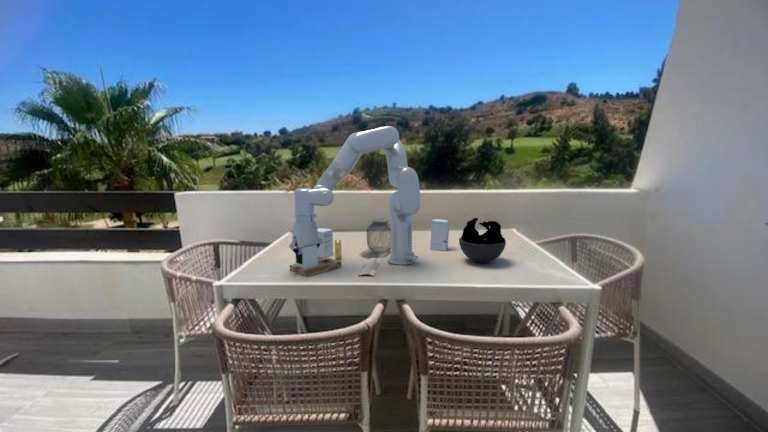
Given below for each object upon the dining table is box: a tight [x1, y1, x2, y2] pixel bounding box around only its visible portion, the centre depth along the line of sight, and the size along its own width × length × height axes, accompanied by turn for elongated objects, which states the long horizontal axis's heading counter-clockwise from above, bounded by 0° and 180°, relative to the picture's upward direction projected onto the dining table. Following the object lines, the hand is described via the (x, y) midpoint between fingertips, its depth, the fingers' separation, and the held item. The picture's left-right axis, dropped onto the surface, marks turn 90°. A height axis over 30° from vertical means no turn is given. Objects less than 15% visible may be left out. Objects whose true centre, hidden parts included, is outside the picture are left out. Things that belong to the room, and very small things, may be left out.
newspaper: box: [358, 257, 383, 277], centre depth 165 cm, size 24×7×2 cm, turn 172°
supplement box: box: [317, 227, 334, 258], centre depth 183 cm, size 7×7×13 cm
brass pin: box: [334, 239, 343, 261], centre depth 177 cm, size 3×3×9 cm
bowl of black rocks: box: [458, 217, 507, 264], centre depth 170 cm, size 20×20×19 cm
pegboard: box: [289, 257, 343, 278], centre depth 163 cm, size 12×18×9 cm, turn 136°
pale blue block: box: [294, 245, 319, 269], centre depth 159 cm, size 6×6×9 cm
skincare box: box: [429, 218, 450, 252], centre depth 193 cm, size 8×6×15 cm
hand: (306, 261), depth 160 cm, fingers closed on pale blue block, 6 cm apart
